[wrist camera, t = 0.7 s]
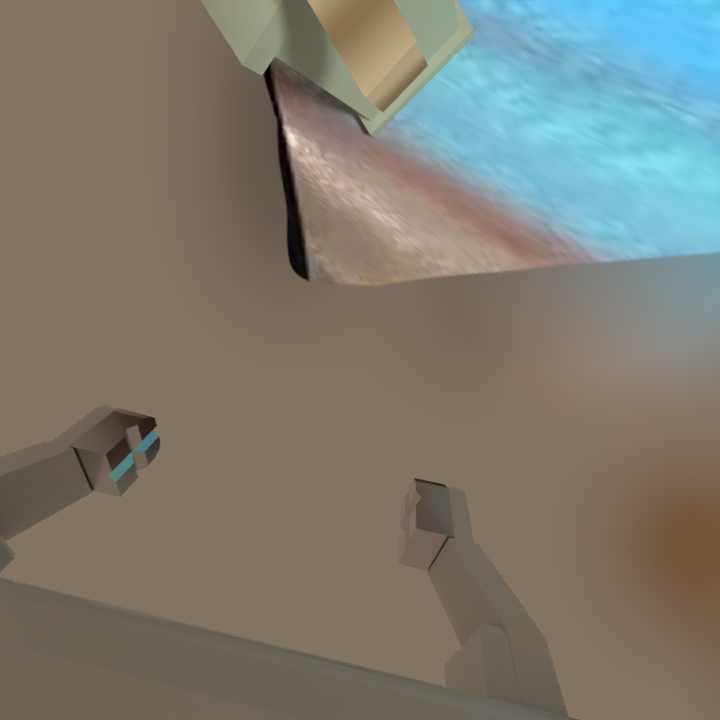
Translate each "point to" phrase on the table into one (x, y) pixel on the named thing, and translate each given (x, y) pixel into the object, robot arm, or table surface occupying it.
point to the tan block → (373, 45)
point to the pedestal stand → (318, 54)
